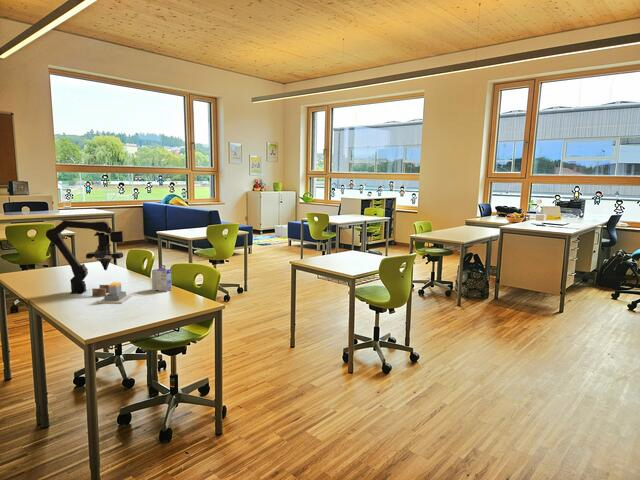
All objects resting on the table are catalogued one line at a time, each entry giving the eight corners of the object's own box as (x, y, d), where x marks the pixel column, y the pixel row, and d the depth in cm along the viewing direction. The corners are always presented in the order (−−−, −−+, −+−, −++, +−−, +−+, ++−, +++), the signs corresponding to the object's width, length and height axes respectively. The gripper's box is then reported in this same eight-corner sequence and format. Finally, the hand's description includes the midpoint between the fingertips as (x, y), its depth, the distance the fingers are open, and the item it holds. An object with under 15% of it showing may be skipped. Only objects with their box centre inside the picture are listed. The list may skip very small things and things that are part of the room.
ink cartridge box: (172, 289, 259) (171, 265, 257) (167, 291, 253) (166, 267, 251) (157, 288, 261) (156, 264, 259) (151, 290, 255) (150, 266, 253)
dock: (98, 303, 228) (97, 297, 228) (110, 296, 242) (109, 290, 242) (121, 303, 229) (121, 297, 228) (132, 296, 243) (131, 290, 242)
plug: (109, 299, 232) (108, 285, 231) (114, 296, 238) (113, 282, 237) (117, 299, 233) (116, 285, 231) (121, 296, 239) (120, 282, 237)
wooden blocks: (92, 296, 242) (92, 289, 242) (100, 291, 252) (100, 284, 251) (105, 296, 242) (105, 289, 242) (113, 291, 252) (112, 284, 251)
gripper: (80, 245, 242) (82, 273, 244) (114, 245, 242) (116, 273, 245) (89, 242, 253) (91, 269, 255) (122, 242, 253) (124, 269, 256)
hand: (105, 270), depth 252 cm, fingers closed
